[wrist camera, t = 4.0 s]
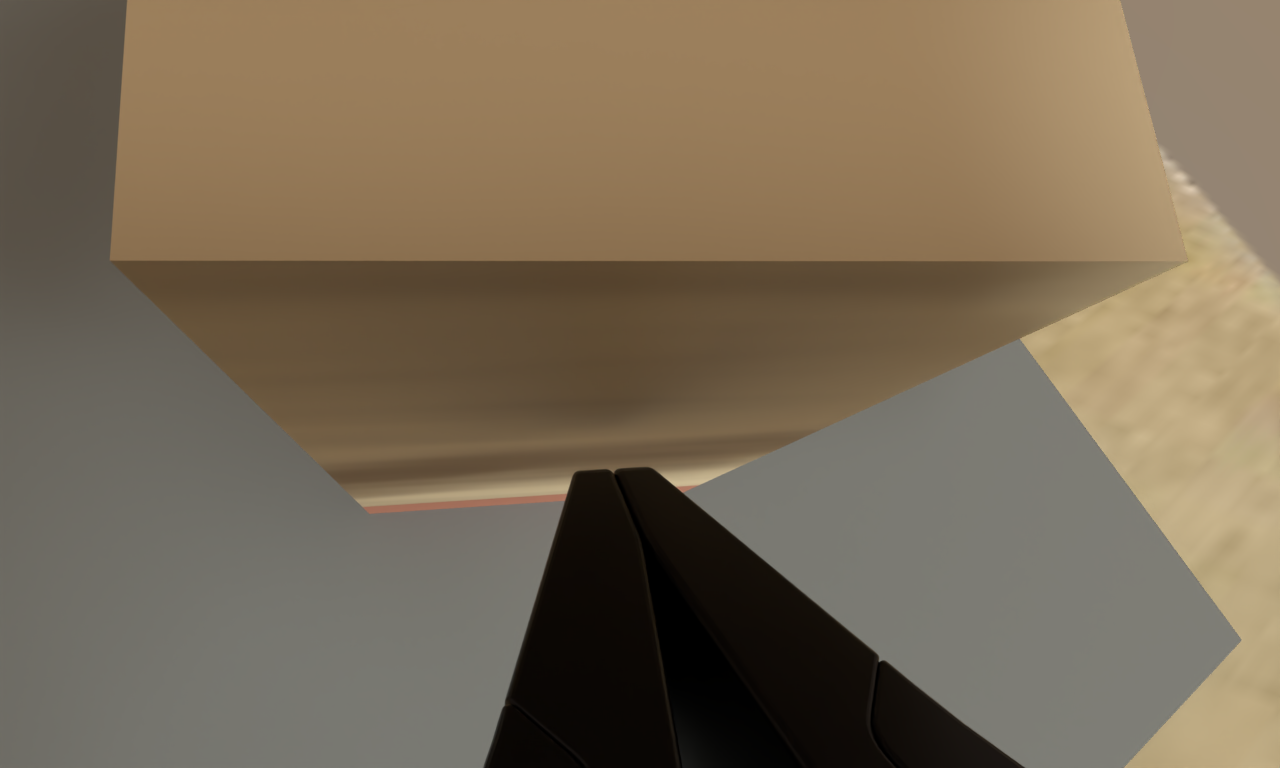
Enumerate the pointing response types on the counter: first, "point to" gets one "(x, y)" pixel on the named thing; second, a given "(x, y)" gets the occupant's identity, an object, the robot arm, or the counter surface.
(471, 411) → the maple block
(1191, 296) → the counter surface
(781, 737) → the robot arm
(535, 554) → the slate mat
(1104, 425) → the counter surface
